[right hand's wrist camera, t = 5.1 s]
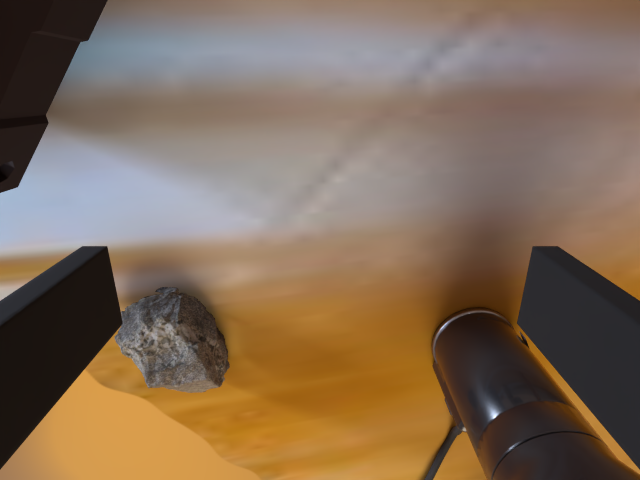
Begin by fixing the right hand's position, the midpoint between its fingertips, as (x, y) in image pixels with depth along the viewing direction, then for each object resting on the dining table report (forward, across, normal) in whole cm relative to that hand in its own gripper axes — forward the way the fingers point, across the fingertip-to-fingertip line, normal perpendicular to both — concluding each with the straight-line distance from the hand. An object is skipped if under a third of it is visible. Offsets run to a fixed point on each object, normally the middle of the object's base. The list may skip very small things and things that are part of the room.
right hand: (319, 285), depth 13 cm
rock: (+28, -15, -20) cm, 38 cm away
